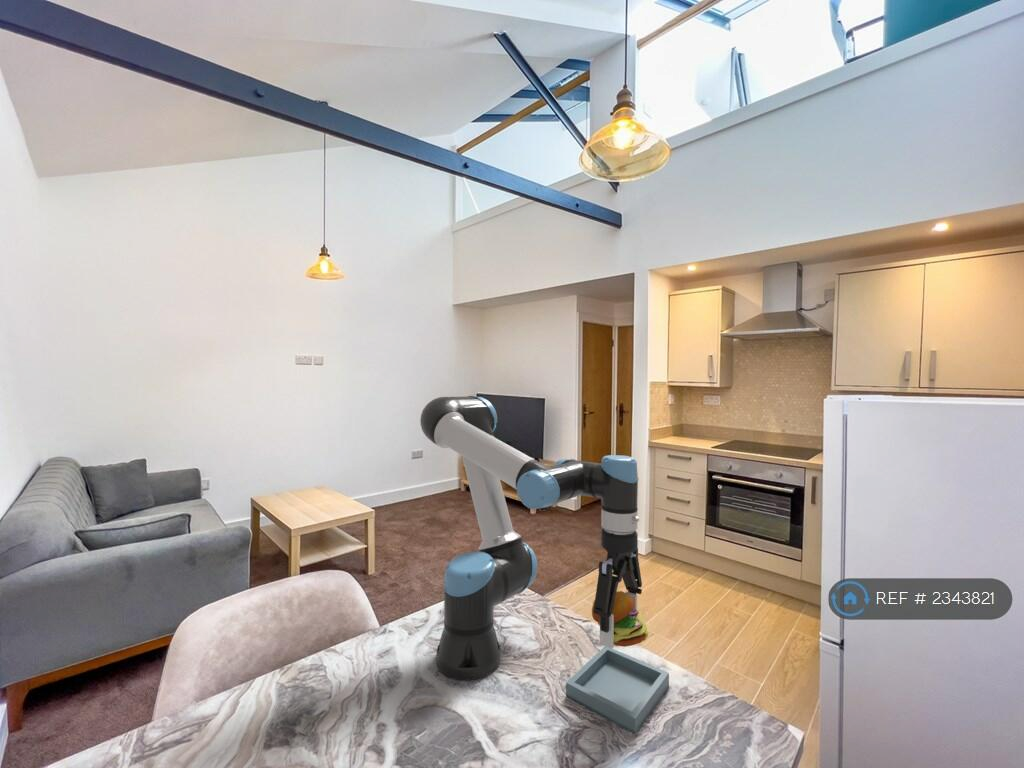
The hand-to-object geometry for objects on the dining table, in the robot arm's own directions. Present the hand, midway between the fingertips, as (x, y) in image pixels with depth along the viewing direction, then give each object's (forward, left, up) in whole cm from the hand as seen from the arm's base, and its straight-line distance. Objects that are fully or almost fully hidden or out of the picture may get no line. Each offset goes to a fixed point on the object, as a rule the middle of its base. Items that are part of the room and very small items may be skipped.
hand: (619, 633), depth 92 cm
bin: (0, 0, -12) cm, 12 cm away
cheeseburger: (0, 0, -1) cm, 1 cm away
